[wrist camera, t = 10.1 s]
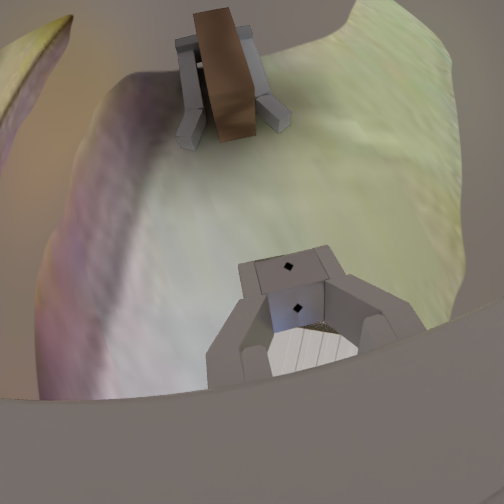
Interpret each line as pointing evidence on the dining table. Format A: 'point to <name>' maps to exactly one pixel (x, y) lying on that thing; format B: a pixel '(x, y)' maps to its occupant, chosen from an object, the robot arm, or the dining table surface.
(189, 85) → the grey channel
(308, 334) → the baseboard molding
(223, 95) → the walnut plank
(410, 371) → the robot arm
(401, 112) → the dining table surface
